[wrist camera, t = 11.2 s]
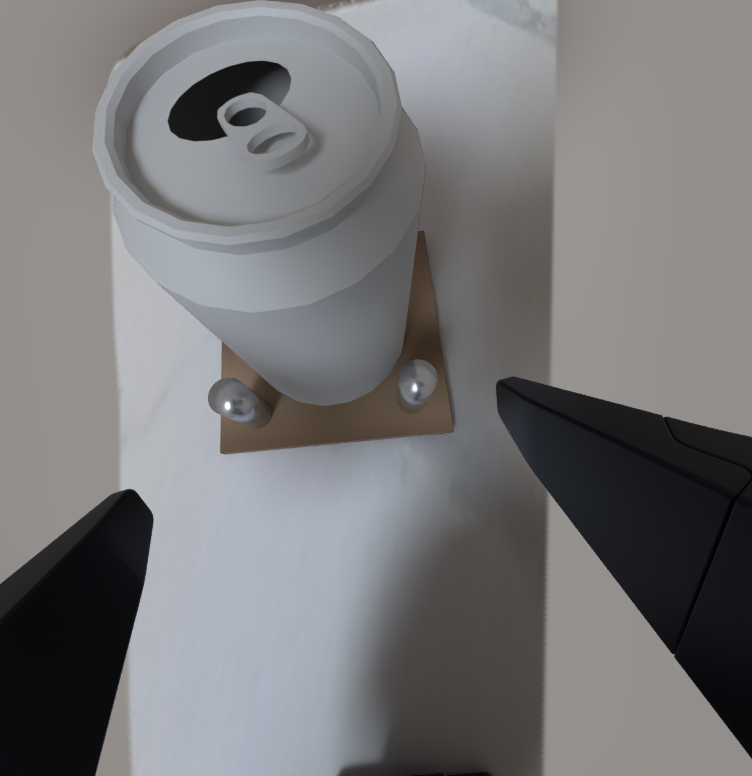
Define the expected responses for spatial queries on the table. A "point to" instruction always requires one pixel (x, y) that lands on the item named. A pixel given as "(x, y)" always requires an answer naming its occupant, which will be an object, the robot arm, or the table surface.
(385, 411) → the standoff plate
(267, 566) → the table surface
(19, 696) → the robot arm
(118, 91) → the can
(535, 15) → the table surface
